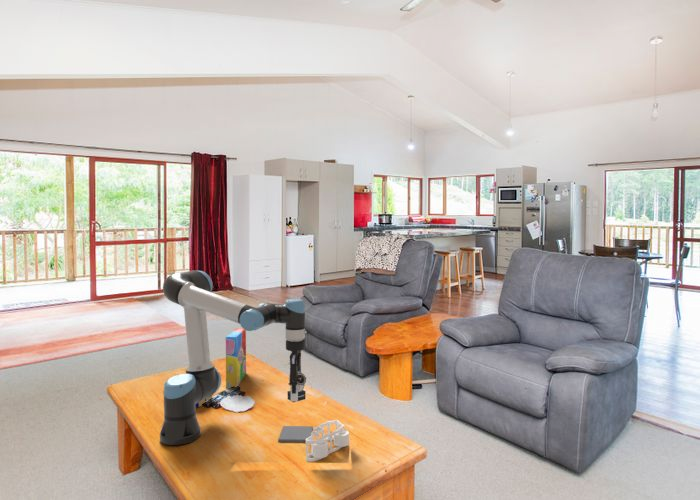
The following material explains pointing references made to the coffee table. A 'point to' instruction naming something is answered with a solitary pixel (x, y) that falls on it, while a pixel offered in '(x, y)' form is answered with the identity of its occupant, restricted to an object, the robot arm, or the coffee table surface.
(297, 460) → the coffee table surface
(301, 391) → the watch
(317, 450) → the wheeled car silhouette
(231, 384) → the game box
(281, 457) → the coffee table surface
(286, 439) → the mat
